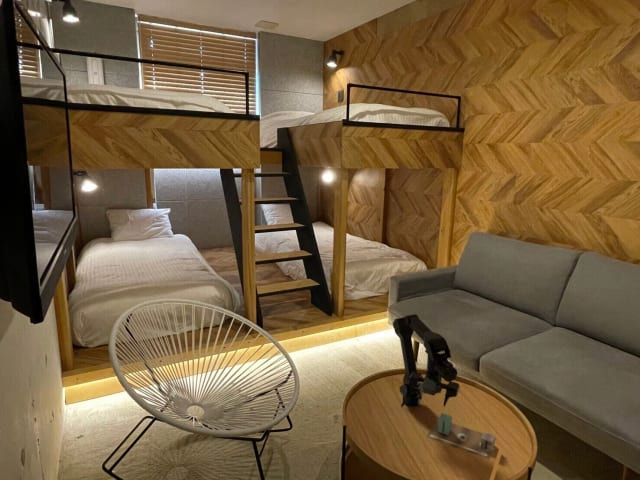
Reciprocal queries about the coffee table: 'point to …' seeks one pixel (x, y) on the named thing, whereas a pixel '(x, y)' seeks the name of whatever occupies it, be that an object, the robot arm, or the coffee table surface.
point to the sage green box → (444, 423)
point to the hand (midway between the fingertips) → (432, 402)
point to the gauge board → (465, 439)
